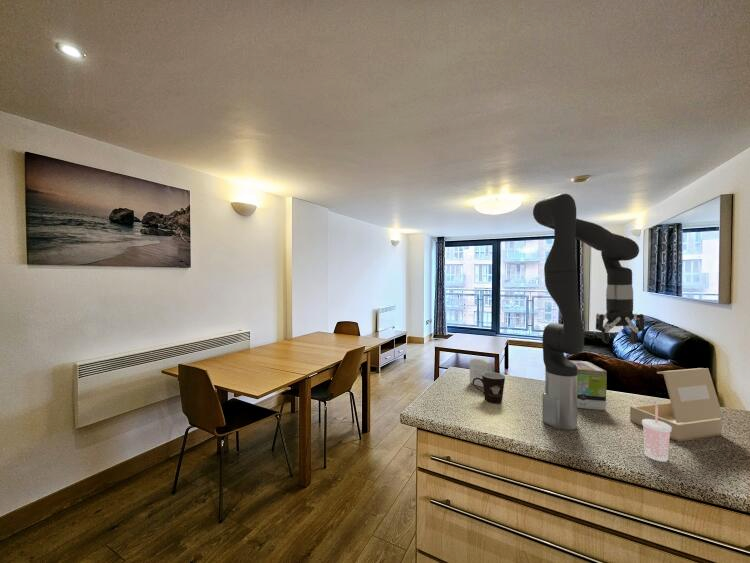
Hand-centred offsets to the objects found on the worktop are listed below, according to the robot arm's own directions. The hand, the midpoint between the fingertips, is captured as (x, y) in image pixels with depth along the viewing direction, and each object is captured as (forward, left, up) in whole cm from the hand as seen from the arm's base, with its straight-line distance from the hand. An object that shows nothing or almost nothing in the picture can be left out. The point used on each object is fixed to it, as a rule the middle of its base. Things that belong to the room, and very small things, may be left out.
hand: (619, 343), depth 112 cm
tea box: (-2, +13, -26) cm, 29 cm away
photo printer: (-31, +39, -26) cm, 56 cm away
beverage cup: (-16, -23, -26) cm, 38 cm away
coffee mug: (-37, +23, -26) cm, 50 cm away
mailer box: (+8, -11, -26) cm, 30 cm away
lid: (+8, -14, -14) cm, 22 cm away
